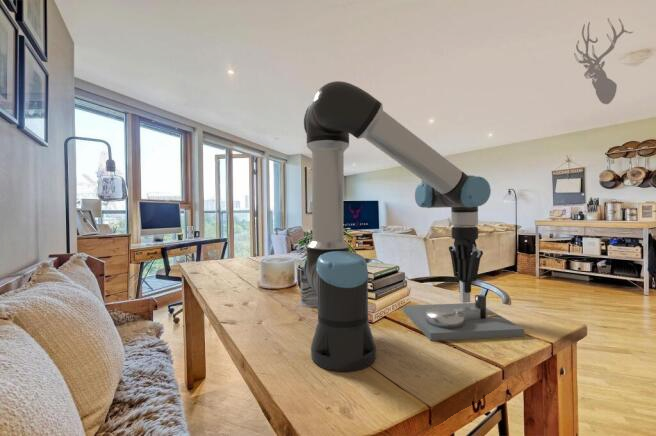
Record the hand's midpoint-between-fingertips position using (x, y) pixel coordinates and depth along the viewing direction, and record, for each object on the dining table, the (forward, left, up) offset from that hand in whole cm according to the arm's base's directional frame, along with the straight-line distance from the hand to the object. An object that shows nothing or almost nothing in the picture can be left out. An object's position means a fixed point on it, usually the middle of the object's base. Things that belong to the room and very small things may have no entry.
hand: (464, 301), depth 94 cm
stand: (-5, -5, -5) cm, 8 cm away
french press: (-47, +19, -5) cm, 51 cm away
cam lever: (-7, -8, -2) cm, 11 cm away
